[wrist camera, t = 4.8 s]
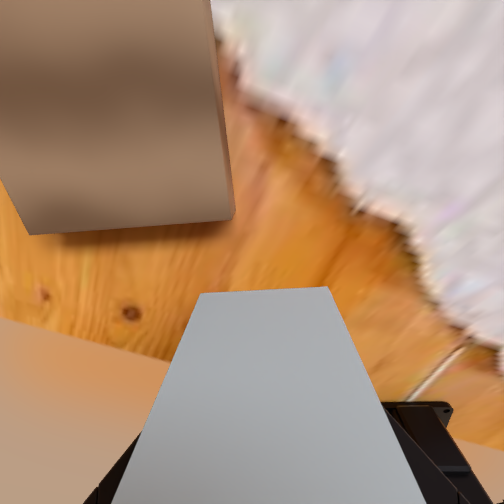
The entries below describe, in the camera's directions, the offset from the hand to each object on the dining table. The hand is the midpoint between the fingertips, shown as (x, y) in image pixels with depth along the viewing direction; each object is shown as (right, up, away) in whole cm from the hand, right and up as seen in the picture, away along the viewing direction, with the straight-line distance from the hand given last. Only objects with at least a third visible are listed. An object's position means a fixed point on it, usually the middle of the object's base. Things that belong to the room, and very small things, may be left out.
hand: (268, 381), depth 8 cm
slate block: (0, +1, +2) cm, 2 cm away
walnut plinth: (-7, +12, +3) cm, 14 cm away
